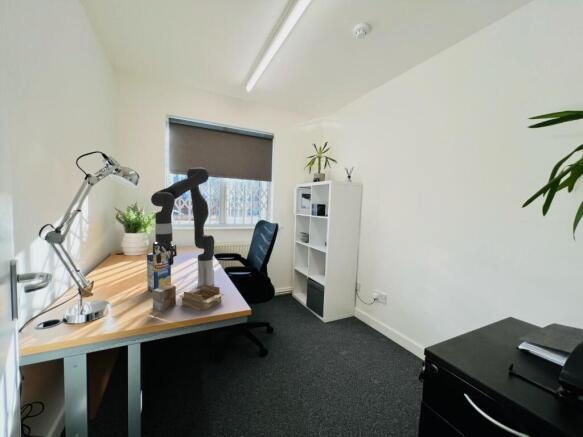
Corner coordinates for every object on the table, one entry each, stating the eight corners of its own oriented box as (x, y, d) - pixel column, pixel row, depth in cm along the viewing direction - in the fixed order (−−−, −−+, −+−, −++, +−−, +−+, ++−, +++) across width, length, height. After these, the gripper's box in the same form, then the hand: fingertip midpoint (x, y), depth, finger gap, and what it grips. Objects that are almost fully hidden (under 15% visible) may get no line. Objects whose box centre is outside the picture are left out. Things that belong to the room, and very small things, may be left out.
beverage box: (147, 289, 140) (146, 254, 139) (164, 284, 150) (164, 251, 148) (153, 291, 137) (153, 255, 135) (171, 286, 146) (170, 252, 145)
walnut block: (169, 303, 121) (168, 284, 120) (175, 304, 119) (175, 286, 118) (152, 310, 113) (152, 290, 112) (159, 312, 111) (159, 291, 110)
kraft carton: (198, 296, 131) (198, 282, 131) (224, 302, 124) (224, 288, 123) (178, 305, 119) (178, 290, 119) (206, 313, 112) (206, 297, 111)
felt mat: (166, 303, 122) (166, 302, 122) (178, 306, 118) (178, 305, 118) (150, 310, 113) (150, 309, 113) (162, 314, 110) (162, 313, 110)
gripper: (180, 232, 116) (181, 263, 117) (160, 230, 121) (161, 260, 122) (167, 234, 109) (168, 267, 110) (147, 232, 114) (148, 264, 115)
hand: (164, 263), depth 116 cm, fingers open, 8 cm apart
